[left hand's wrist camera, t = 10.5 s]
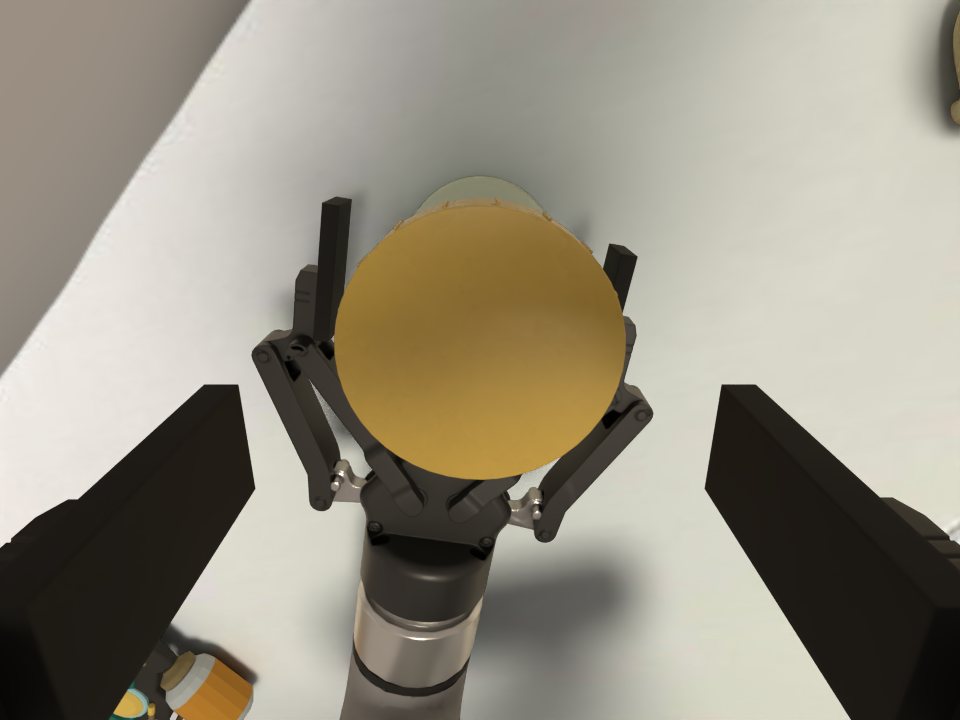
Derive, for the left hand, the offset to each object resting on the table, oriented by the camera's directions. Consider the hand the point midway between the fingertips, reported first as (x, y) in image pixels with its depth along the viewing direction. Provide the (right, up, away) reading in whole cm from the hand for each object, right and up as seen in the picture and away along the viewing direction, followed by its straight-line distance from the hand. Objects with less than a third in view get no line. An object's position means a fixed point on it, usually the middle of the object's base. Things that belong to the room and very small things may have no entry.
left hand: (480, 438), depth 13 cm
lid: (0, +2, +5) cm, 6 cm away
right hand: (0, +8, +14) cm, 16 cm away
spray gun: (-26, -25, +34) cm, 50 cm away
